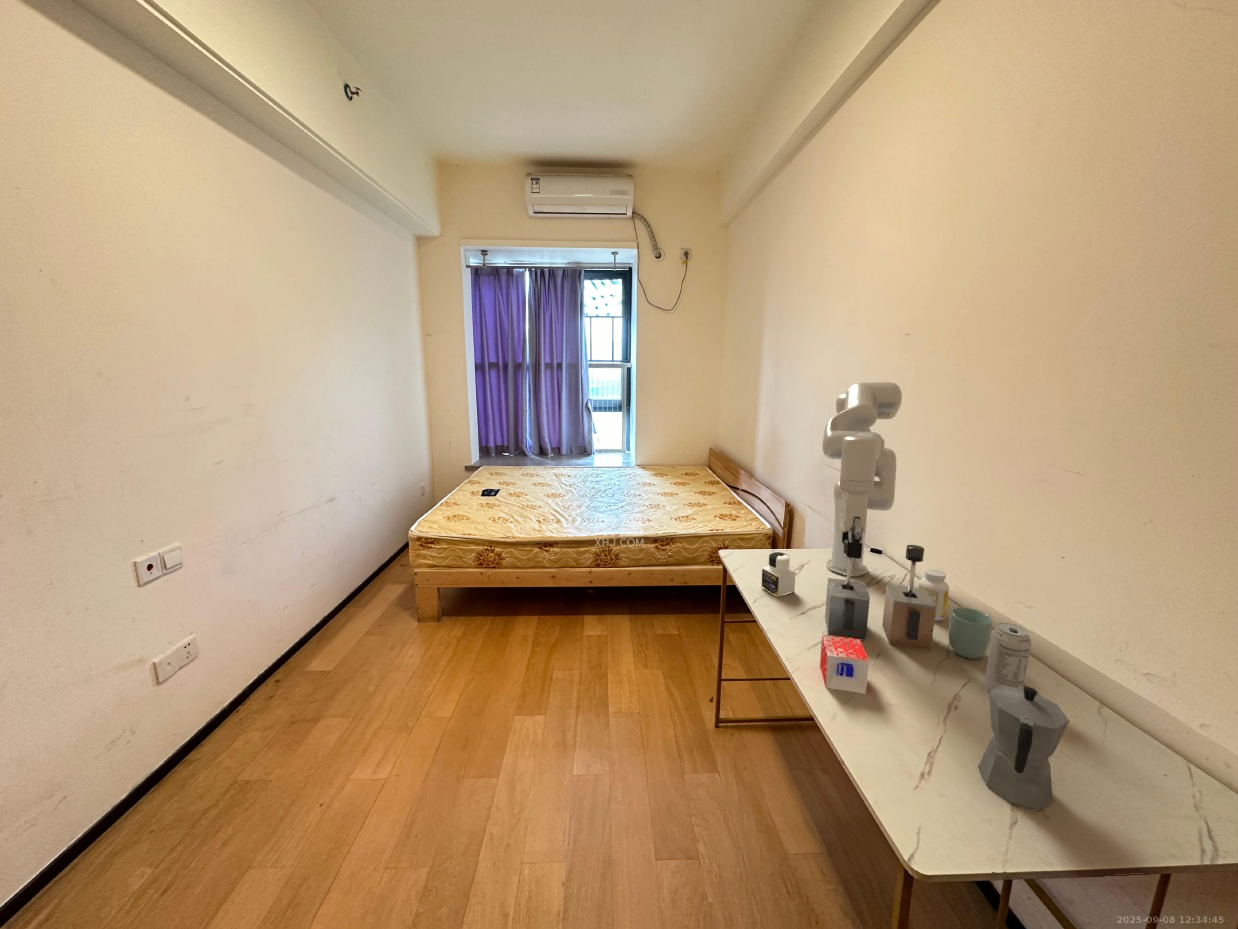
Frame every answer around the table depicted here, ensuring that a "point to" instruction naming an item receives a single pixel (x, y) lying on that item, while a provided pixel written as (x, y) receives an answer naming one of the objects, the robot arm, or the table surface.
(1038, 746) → the coffeepot
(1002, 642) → the energy drink can
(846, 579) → the plunger
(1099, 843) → the table surface
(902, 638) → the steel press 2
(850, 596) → the grey joystick box
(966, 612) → the cup
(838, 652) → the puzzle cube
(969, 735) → the table surface
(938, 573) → the supplement bottle
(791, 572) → the medicine bottle
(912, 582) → the plunger
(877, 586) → the table surface
